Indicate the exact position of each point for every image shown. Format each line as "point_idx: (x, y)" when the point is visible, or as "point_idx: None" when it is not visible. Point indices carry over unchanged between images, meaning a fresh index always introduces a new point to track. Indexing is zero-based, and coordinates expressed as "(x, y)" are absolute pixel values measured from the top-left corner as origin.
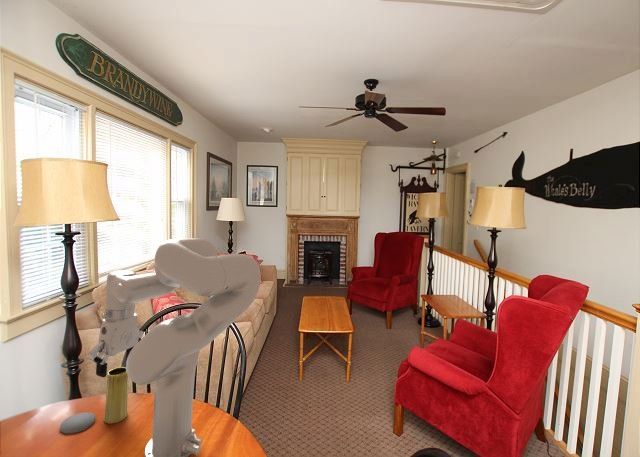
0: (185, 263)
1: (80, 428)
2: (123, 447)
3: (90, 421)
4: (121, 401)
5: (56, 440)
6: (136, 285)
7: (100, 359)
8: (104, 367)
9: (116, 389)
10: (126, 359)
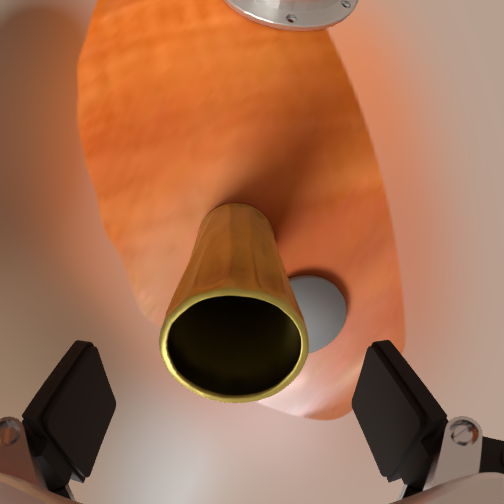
0: None
1: (329, 284)
2: (340, 94)
3: (294, 288)
4: (247, 223)
5: (368, 300)
6: None
7: (483, 460)
8: (424, 397)
9: (275, 262)
10: (114, 406)
